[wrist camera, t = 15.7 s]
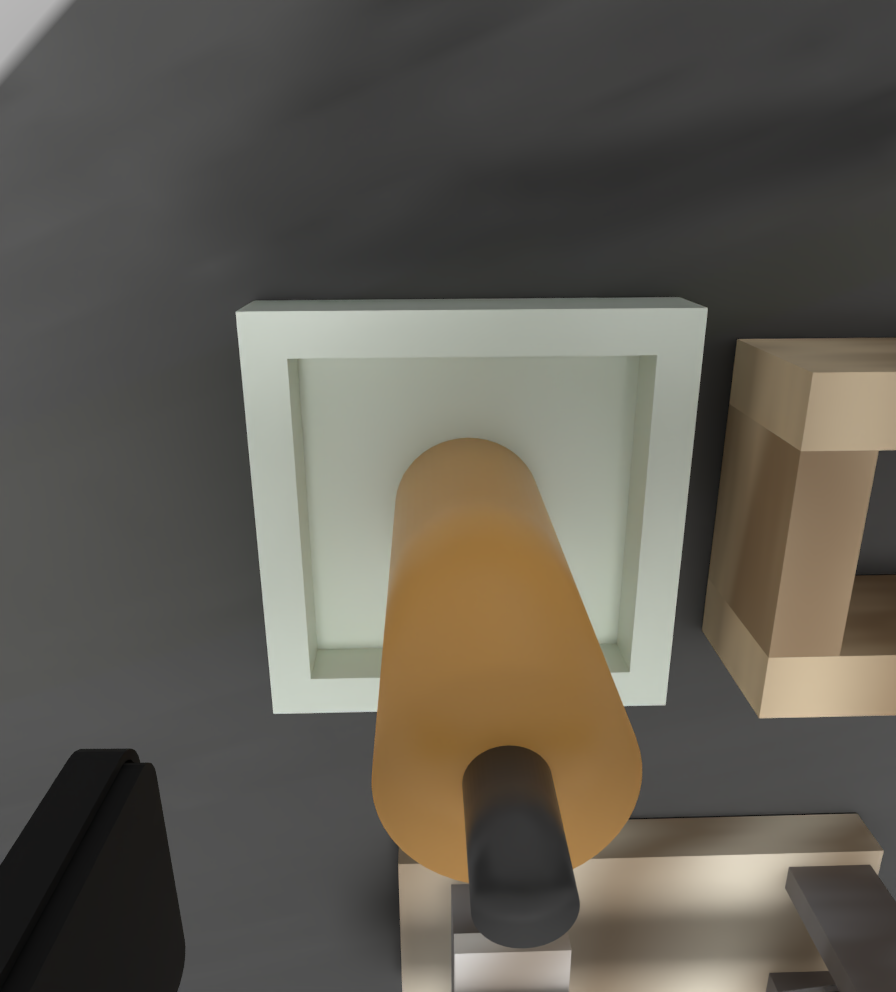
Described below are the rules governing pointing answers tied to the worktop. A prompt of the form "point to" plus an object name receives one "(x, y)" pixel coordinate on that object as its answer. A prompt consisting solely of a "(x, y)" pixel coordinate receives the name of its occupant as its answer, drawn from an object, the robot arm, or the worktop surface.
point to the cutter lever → (818, 989)
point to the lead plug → (495, 698)
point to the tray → (465, 414)
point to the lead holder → (804, 529)
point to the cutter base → (680, 915)
